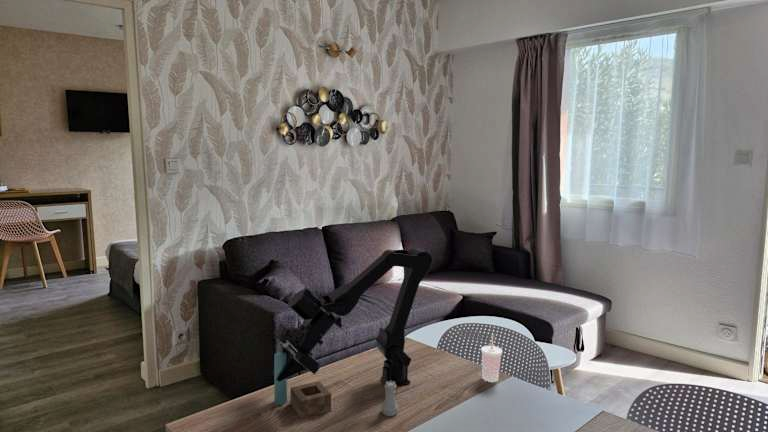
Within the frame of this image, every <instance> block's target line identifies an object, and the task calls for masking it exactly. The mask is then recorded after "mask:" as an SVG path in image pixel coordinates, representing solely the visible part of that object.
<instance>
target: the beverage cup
mask: <svg viewBox="0 0 768 432" xmlns="http://www.w3.org/2000/svg"><path fill="white" fill-rule="evenodd" d="M480 349H481V351H480V353H481V368H482V369H481V374H482V378H481V379H482V380H483V379H484V380H483V381H485V382H487V381H488V383H496V382H498V381H499V377H500V369H501V360H502V355H503V349H502V348H501V347H498V346H495V345H494V332H491V342H490V345H483V346H482V347H481V348H480Z"/></svg>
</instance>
